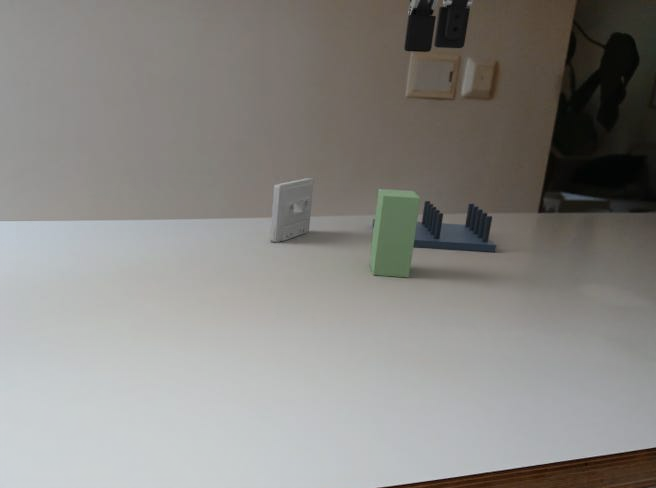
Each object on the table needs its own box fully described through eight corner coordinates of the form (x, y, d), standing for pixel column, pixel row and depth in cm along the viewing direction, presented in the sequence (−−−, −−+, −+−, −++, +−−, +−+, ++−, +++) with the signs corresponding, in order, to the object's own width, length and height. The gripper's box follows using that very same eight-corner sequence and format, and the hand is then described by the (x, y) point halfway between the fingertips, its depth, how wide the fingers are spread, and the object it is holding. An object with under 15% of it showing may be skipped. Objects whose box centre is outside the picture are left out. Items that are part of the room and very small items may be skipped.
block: (402, 266, 90) (413, 190, 87) (408, 277, 84) (420, 197, 81) (369, 263, 90) (378, 189, 87) (372, 275, 85) (383, 195, 82)
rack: (471, 231, 115) (476, 202, 113) (495, 252, 100) (501, 218, 98) (372, 225, 117) (376, 196, 115) (381, 244, 102) (385, 212, 100)
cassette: (278, 243, 100) (283, 185, 98) (266, 241, 101) (270, 184, 99) (312, 231, 110) (317, 178, 107) (300, 229, 111) (305, 177, 108)
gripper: (530, -143, 72) (497, 47, 78) (458, -101, 88) (435, 53, 94) (455, -147, 72) (427, 44, 78) (396, -105, 88) (377, 51, 94)
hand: (432, 49), depth 86 cm, fingers open, 9 cm apart
